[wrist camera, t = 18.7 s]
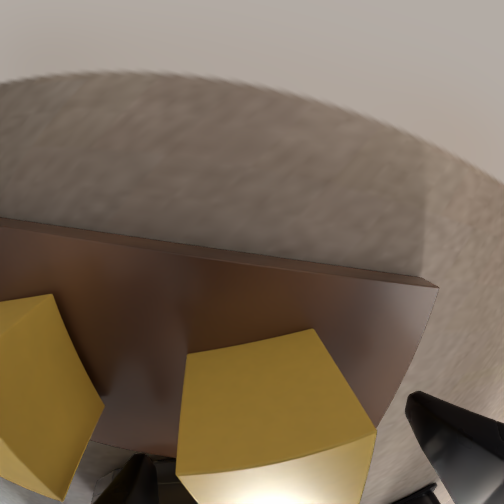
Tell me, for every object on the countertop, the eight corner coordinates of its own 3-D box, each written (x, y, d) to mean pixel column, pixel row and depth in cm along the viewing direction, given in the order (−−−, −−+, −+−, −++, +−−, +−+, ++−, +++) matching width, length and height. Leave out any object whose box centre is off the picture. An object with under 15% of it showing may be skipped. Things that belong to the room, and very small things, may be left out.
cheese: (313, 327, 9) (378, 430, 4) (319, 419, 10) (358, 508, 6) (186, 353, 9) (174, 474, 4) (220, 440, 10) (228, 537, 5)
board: (421, 277, 10) (440, 287, 9) (352, 437, 12) (360, 453, 11) (-46, 210, 7) (-64, 214, 6) (-16, 379, 9) (-26, 391, 8)
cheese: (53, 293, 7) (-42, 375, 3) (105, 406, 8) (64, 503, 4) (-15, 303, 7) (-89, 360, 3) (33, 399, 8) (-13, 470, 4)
